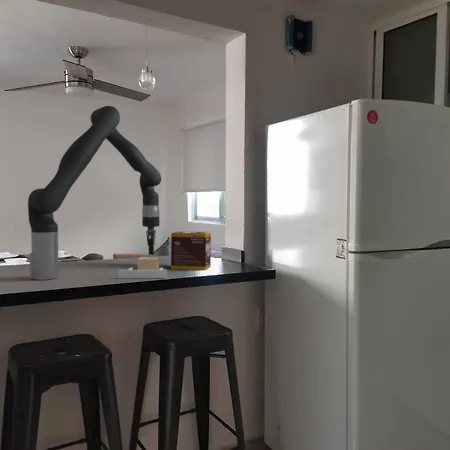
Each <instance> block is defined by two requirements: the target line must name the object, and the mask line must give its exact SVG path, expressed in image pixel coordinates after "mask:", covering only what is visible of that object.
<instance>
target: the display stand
mask: <svg viewBox="0 0 450 450" xmlns="http://www.w3.org/2000/svg"><path fill="white" fill-rule="evenodd" d="M117 271H118V272H117V274H118V275H117V276H118V279H167V278H168V269H164V267H159V269H158V270H138V269H133V267H129V268H128V269H117Z"/></svg>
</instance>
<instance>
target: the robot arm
mask: <svg viewBox="0 0 450 450" xmlns="http://www.w3.org/2000/svg"><path fill="white" fill-rule="evenodd" d="M120 120H121V115H120V112H119V110H118V109H117V108H116V107H115V106H113V105H104V106H102V107H99V108H97V109H95V110H93V111H92V113H91V114H90V122H91V125H90V127H89V128H88V129H87V130H86V131H85V132H84V133H83V134H81V135H79V137H78V138H77V139H75V141H73V142H72V144H71V145H70V146H69V147H68V149H66V151H65V152H64V153H63V156H62V157H61V159H60V161H59V164H58V169H57V171H56V173H55V175H54V177H53V178H52V179H51V180H50V181H49V183H48V184H47V185H46V186H45V187H43V188H37V189H34V190H32V191H31V192H30V193H29V195H28V198H27V199H28V200H27V208H28V209H27V212H28V224H29V226H30V232H31V234H30V235H31V241H30V242H31V245H30V246H31V252H30V253H29V280H37V281H41V280H53V279H58V278H59V277H60V275H59V273H60V270H59V267H60V265H59V225H58V223H57V222H56V221H55V218H54V213H55V212H57V211H58V210H59V209H60V207H61V206H62V204H63V202H64V200H65V199H66V197H67V195H68V193H69V191H70V190H71V188H72V187H73V186H74V184H75V183H76V182H77V181H78V179H79V178H80V176H81V175H82V173H83V172H84V171H85V169H86V168H87V166H88V165H89V164H90V162H91V161H92V160H93V158H94V156H95V155H96V154H97V152H98V150H99V149H100V148H101V146H102V144H103V143H104V141H105V140H107V141H108V142H109V143H110V144H111V145H112V146H113V147H114V148H115V149H116V150H117V152H119V154H120V155H121V156H122V157H123V158H124V160H125V161H126V162H127V163H128V165H129V166H130V167H131V169H132V170H134V171H135V172H138V174H139V173H140V176H139V186H140V190H141V194H142V210H141V211H142V212H141V214H142V215H141V216H142V224H141V226H142V227H143V228H146V227H147V230H146V231H145V232H146V233H145V235H146V241H147V242H146V243H147V246H148V255H149V256H154V254H155V244H156V242H155V241H156V234H157V230H155V228H157V227H160V207H159V206H160V204H159V203H160V199H159V197H160V196H159V193H158V192H156V191H155V187H157V186H159V185H160V184H161V182H162V176H161V173H160V171H159V170H158V169H157V168H156V167H155V166H154V165H153V164H152V163H150V162H149V161H148V159H146V157H145V156H144V155H143V154H142V152H141V151H140V150H139V148H138V147H137V146H136V145H135V144H134V143H132V142H131V141H130V140H128V139H127V138H126V137H125V136H123V134H121V133H120V132H119V131H118V129H117V127H118V125H119V124H120Z"/></svg>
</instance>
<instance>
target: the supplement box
mask: <svg viewBox="0 0 450 450" xmlns="http://www.w3.org/2000/svg"><path fill="white" fill-rule="evenodd" d="M170 237H171V238H170V239H171V240H170V242H171V243H170V245H171V246H170V258H171V259H170V269H171V270H186V269H189V270H190V271H191V270H192V271H206V270H208V269H209V268H211V267H212V264H211V261H212V260H211V257H212V251H211V250H212V249H211V247H212V240H211V239H212V232H211V231H179V230H178V231H174V232H171V235H170ZM189 270H188V271H189Z"/></svg>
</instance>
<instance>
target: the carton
mask: <svg viewBox="0 0 450 450" xmlns="http://www.w3.org/2000/svg"><path fill="white" fill-rule="evenodd" d="M136 261H137V270H159V269H160V256H140V257H139V258H137V260H136Z"/></svg>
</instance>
